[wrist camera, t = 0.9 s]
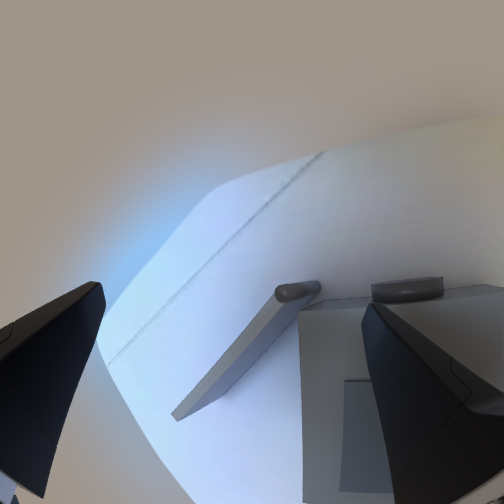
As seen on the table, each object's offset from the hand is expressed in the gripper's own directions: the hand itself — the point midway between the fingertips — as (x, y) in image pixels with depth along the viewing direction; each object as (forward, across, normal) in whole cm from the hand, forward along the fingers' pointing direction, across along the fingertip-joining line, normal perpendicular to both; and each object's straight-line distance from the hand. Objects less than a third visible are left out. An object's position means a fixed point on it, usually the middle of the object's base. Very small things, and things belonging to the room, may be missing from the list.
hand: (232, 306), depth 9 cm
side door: (+10, -2, +11) cm, 15 cm away
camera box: (+4, -12, +10) cm, 16 cm away
